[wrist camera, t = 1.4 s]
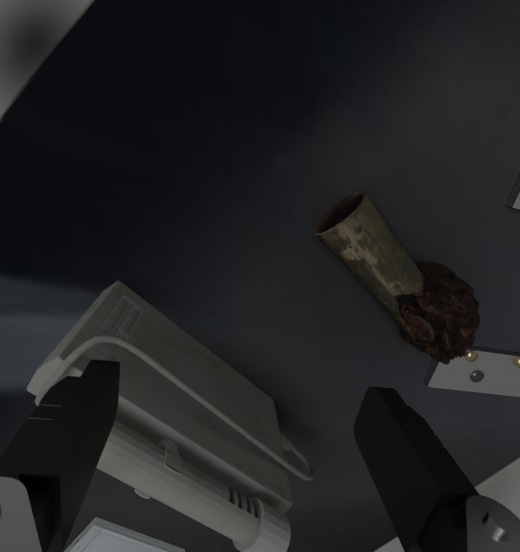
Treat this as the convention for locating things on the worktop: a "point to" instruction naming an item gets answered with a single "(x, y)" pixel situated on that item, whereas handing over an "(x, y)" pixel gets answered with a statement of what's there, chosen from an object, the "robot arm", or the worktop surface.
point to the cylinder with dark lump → (402, 280)
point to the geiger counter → (183, 422)
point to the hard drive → (116, 540)
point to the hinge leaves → (481, 360)
